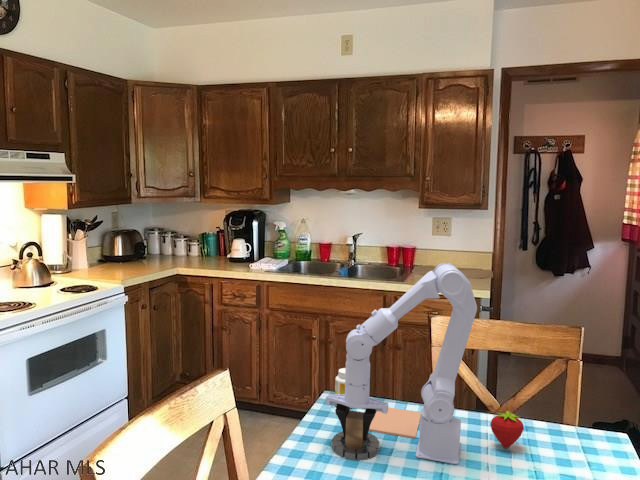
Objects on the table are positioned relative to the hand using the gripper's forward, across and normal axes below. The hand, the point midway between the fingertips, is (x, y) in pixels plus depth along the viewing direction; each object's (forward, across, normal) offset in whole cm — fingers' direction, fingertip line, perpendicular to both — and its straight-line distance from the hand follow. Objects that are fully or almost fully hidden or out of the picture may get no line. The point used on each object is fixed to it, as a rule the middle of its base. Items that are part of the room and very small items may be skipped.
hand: (355, 436), depth 120 cm
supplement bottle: (+3, +8, -21) cm, 23 cm away
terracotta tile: (+3, -6, -16) cm, 17 cm away
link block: (+3, 0, 0) cm, 3 cm away
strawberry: (+3, -34, -12) cm, 36 cm away
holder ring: (+3, 0, 0) cm, 3 cm away
